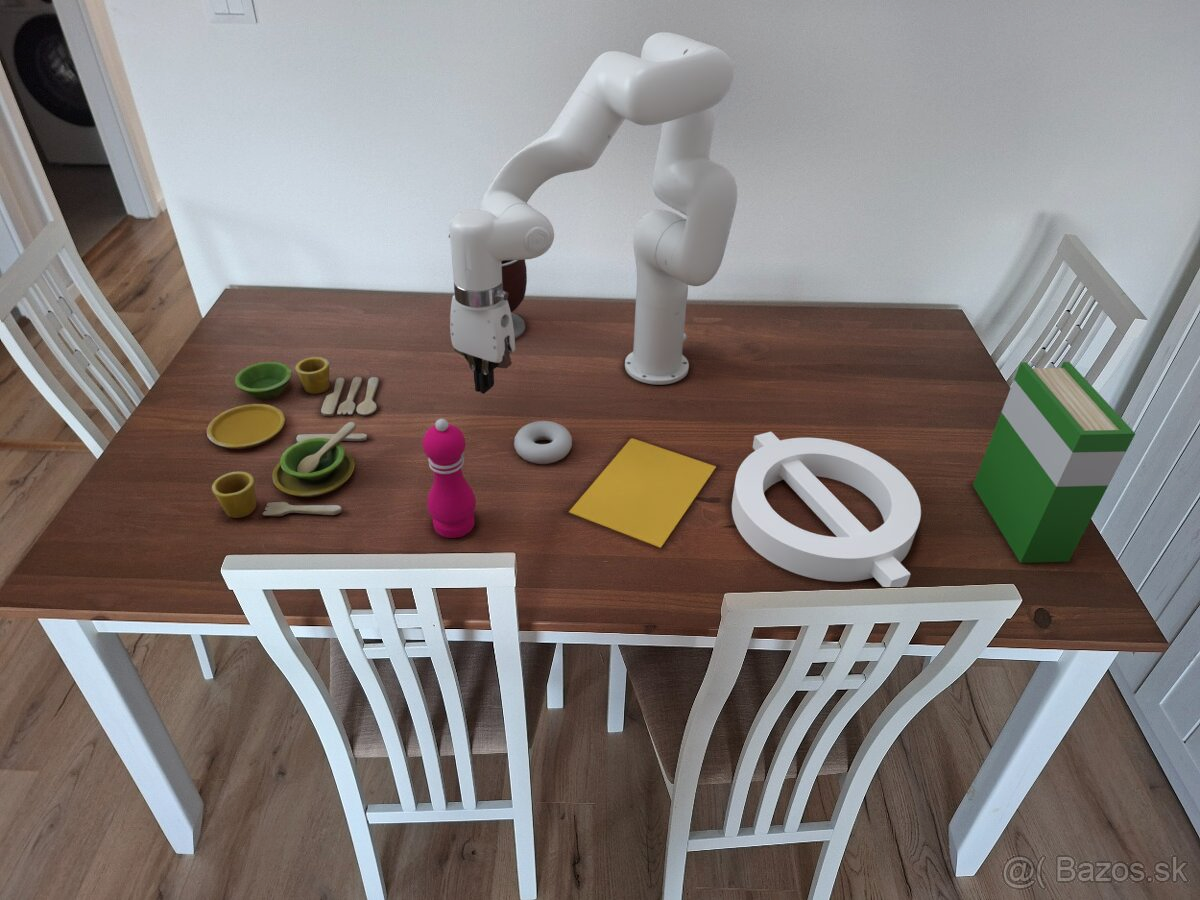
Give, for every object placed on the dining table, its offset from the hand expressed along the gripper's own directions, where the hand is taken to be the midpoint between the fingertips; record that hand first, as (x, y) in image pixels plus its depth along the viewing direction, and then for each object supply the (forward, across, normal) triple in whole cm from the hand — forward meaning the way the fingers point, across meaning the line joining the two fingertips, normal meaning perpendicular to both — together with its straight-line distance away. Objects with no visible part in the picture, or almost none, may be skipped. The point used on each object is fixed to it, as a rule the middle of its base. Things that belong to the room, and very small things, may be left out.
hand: (484, 388), depth 141 cm
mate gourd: (+9, +20, -31) cm, 37 cm away
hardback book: (+8, -86, -22) cm, 89 cm away
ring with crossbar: (+8, -58, -8) cm, 59 cm away
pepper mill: (+9, -9, +22) cm, 26 cm away
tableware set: (+10, +28, +20) cm, 36 cm away
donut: (+9, -11, -1) cm, 15 cm away
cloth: (+9, -31, 0) cm, 32 cm away
